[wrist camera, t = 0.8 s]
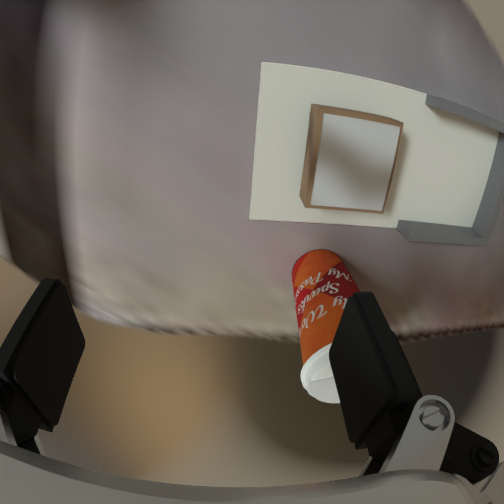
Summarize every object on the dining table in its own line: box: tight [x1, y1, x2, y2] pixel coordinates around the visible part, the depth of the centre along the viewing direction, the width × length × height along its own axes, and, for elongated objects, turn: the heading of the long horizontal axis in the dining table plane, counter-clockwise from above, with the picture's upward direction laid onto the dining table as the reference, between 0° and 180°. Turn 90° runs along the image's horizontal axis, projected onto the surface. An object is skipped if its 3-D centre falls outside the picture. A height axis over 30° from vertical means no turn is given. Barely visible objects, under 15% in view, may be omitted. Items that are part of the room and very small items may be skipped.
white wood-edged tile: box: [299, 103, 404, 214], centre depth 24 cm, size 8×7×4 cm
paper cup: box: [292, 249, 360, 403], centre depth 27 cm, size 8×8×14 cm
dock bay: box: [249, 62, 504, 246], centre depth 25 cm, size 14×27×3 cm, turn 86°
